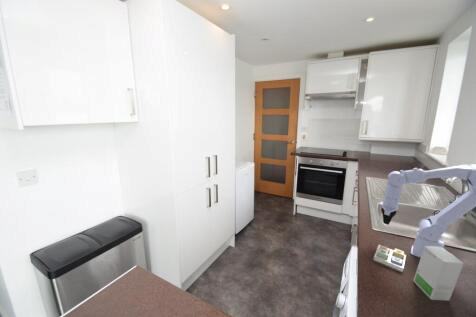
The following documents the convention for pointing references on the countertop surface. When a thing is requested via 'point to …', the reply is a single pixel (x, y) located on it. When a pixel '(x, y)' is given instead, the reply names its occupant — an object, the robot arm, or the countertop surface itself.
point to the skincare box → (437, 273)
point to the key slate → (397, 260)
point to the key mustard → (398, 253)
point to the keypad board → (389, 260)
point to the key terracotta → (384, 248)
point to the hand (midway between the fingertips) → (386, 223)
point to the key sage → (382, 254)
